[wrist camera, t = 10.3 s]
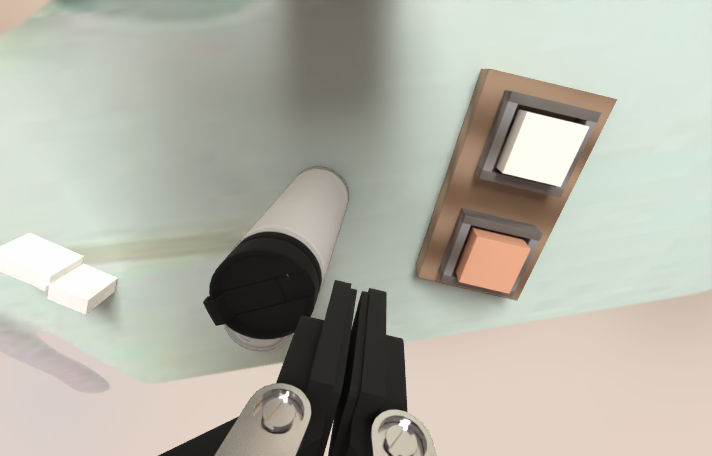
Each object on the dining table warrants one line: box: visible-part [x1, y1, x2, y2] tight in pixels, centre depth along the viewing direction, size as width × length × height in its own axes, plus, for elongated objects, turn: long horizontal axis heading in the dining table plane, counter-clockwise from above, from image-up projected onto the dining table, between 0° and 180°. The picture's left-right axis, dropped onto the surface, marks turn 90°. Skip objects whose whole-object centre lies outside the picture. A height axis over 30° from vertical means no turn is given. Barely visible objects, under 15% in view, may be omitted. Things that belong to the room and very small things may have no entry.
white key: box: [496, 110, 589, 187], centre depth 29 cm, size 5×5×2 cm
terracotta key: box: [455, 228, 531, 294], centre depth 34 cm, size 5×5×2 cm
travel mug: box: [203, 167, 349, 340], centre depth 29 cm, size 6×7×20 cm
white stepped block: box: [0, 233, 118, 315], centre depth 43 cm, size 15×11×6 cm
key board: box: [416, 69, 617, 300], centre depth 34 cm, size 21×11×5 cm, turn 168°
